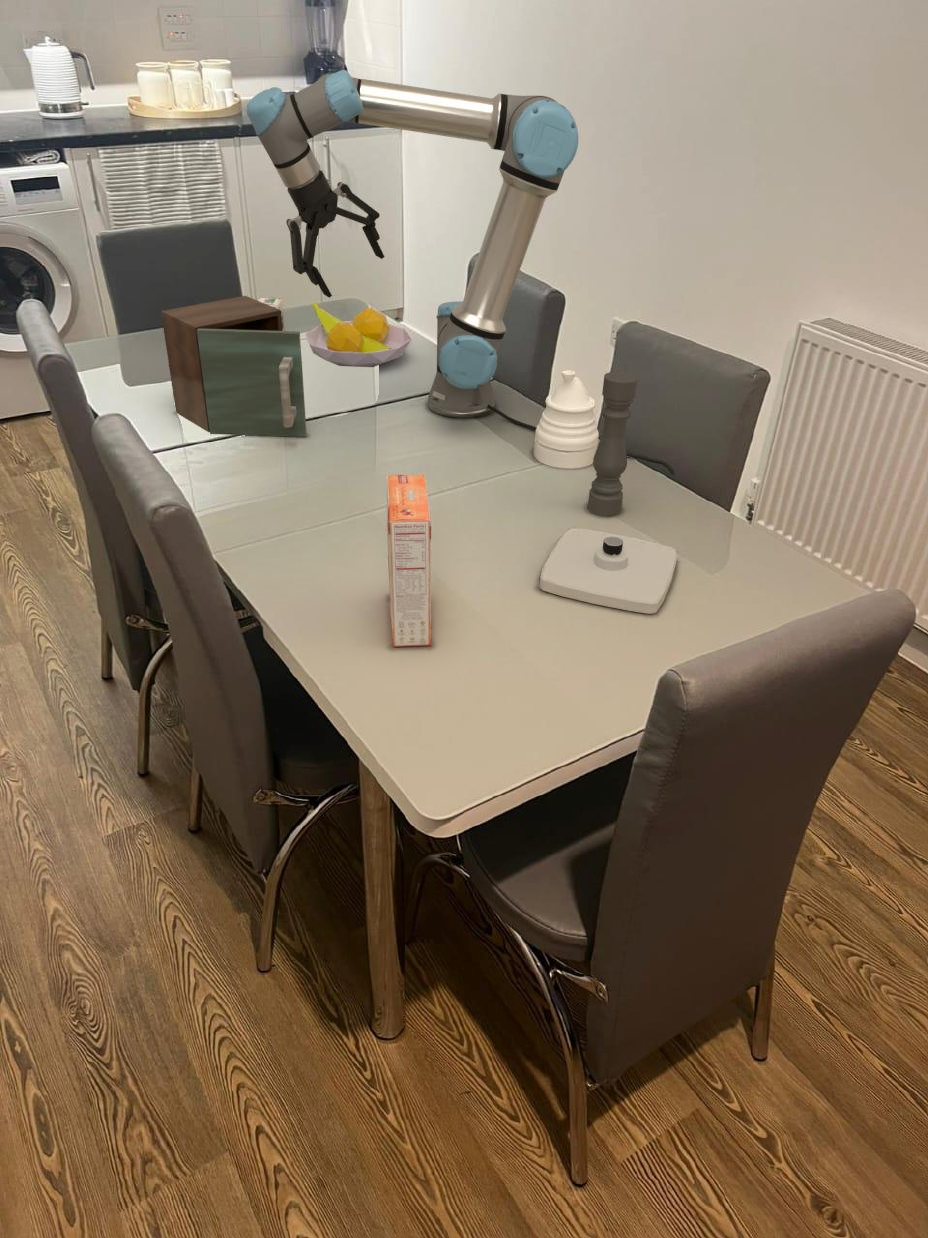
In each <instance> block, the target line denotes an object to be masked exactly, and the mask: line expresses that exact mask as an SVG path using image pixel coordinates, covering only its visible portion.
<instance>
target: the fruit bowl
mask: <svg viewBox="0 0 928 1238" xmlns="http://www.w3.org/2000/svg"><path fill="white" fill-rule="evenodd" d="M311 306H312V307H313V309H314V310H315V314H316V315H317V318H318V321H319V322H320V325H318V326H316V327H314V328H313V329H311V330H309V331H307V332H306V333H304V336H305V339H306V340H307V343H308V345H309V347H310V349H311V352H312V353H313V354H314V355H315V356H317V357H319V358H321V359H323V360H324V361H327V362H329V363H331V364H334V365H336V366H338V367H352V368H353V367H355V368H376V367H378V366H381V365H383V364H386V363H388V362H391V361H394V360H397V359H398V358H401V357H402V356H403V354H404V353H405V351H406V349H407V348H408V346H409V345H410V343H411V342H412V340H413V337H412V336H411V335H410V333H409V332H408V331H407V330H406V328H404V327H402V326H401V327H400V326H397V325H394V324H389V322H388V319H387V315H385V314H384V313H382V312H381V311H379V310H377V309H376V308H374V307H368V308H365V309H363V310H362V311H361V312H359V313H358V314H356V315H355V316H354V317H353V320H344V321H342V320H341V319H340V318H337V317H336V316H333V315H332V314H331V313H329V312H327V311H326V310H324V309H322V308H320V306H319V305H318V304H317V302H313V303H311Z"/></svg>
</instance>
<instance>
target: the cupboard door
mask: <svg viewBox="0 0 928 1238" xmlns="http://www.w3.org/2000/svg"><path fill="white" fill-rule="evenodd" d="M197 336H198V344H199V352H200V360H201V367H202V375H203V383H204V391H205V399H206V406H207V414H208V422H209V430H210V432H209V434H210V435H225V436H226V435H229V436H260V437H261V436H263V437H264V436H265V437H296V438H297V437H298V438H299V437H300V438H306V437H307V434H308V433H307V420H306V406H305V405H306V403H305V389H304V387H305V386H304V374H303V372H304V371H303V361H302V359H303V357H302V345H301V332H300V331H297V330H295V331H293V330H285V331H265V330H232V329H199V328H198V329H197Z"/></svg>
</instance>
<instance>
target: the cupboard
mask: <svg viewBox="0 0 928 1238" xmlns="http://www.w3.org/2000/svg"><path fill="white" fill-rule="evenodd" d="M160 314H161V320H162V327H163V328H162V329H163V334H164V341H165V349H166V355H167V361H168V368H169V375H170V382H171V389H172V396H173V402H174V408H175V413H176V414H177V415H179V416H181V417H182V418H184V419H186V420H187V421H188V422H191V423H192V424H194V425H195V426H197V427H199V428H200V429H202V430H204V431H205V432H207V433H210V430H209V422H208V414H207V406H206V399H205V391H204V383H203V375H202V367H201V360H200V352H199V344H198V336H197V329H198V328H199V329H232V330H265V331H283V329H282V316H281V310H279V309H276V308H274V307H272V306H269V305H267V304H264V303H262V302H259V301H258V300H257V299H254V298H252V297H249V296H247V295H241V296H236V297H231V298H225V299H219V300H214V301H209V302H203V303H198V304H192V305H186V306H182V307H176V308H171V309H166V310H165V309H164V310H161V311H160Z"/></svg>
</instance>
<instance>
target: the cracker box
mask: <svg viewBox="0 0 928 1238" xmlns="http://www.w3.org/2000/svg"><path fill="white" fill-rule="evenodd" d="M429 501H430V500H429V493H428V487H427V478H426V474H406V475H405V474H391V475H386V529H387V530H386V535H387V536H386V537H387V565H388V569H387V570H388V592H389V594H388V595H389V611H390V612H389V613H390V624H391V625H390V627H391V639H392V647H394V648H398V647H399V648H400V647H427V646H429V647H430V646H432V518H431V510H430V509H431V508H430V502H429Z"/></svg>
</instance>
